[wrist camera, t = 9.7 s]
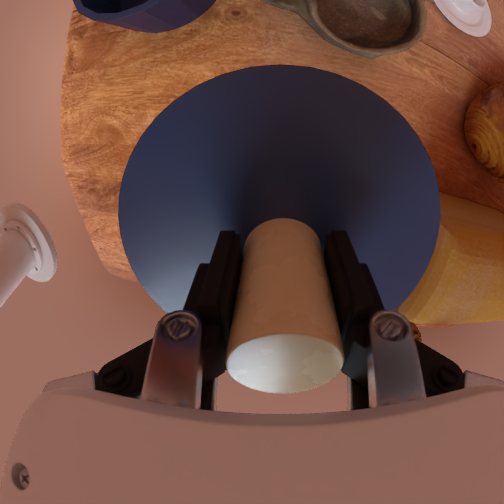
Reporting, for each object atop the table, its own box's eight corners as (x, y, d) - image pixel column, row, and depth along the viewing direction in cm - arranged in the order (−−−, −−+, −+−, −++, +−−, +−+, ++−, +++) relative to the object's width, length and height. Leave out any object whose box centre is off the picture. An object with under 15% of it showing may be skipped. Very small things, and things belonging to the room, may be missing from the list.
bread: (374, 261, 37) (407, 342, 25) (400, 179, 30) (464, 243, 18) (479, 272, 37) (516, 330, 24) (506, 211, 30) (558, 264, 17)
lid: (168, 332, 17) (139, 422, 11) (104, 94, 9) (-24, 133, 3) (388, 333, 16) (412, 424, 10) (448, 92, 8) (569, 131, 2)
